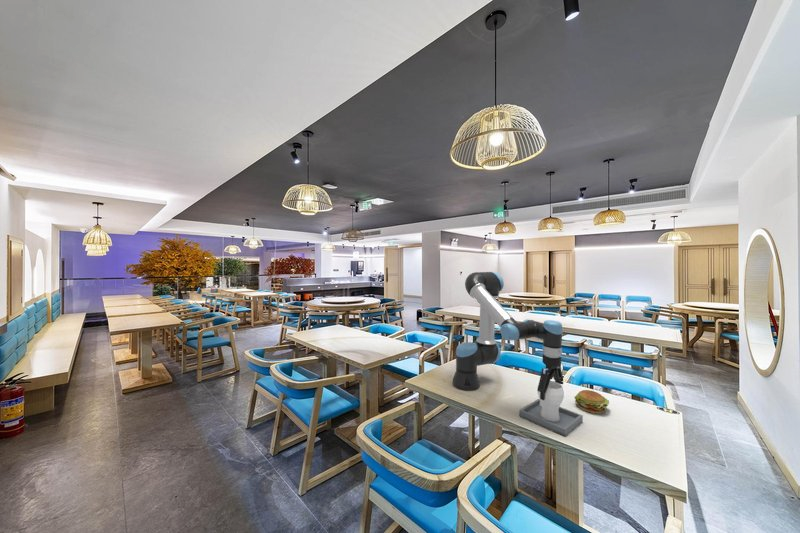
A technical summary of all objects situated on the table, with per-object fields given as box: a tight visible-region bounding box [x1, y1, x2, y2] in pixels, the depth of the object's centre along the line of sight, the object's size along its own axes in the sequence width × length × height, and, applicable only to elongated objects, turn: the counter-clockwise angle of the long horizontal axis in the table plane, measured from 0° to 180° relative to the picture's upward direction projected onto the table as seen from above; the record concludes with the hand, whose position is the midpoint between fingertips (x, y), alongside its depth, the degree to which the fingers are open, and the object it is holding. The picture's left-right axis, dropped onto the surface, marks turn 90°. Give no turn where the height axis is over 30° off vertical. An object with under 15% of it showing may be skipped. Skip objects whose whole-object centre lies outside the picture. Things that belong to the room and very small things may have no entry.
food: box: [573, 389, 610, 414], centre depth 146 cm, size 14×14×8 cm
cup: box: [537, 380, 565, 422], centre depth 136 cm, size 11×11×15 cm
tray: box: [518, 398, 584, 437], centre depth 136 cm, size 20×18×3 cm
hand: (550, 401), depth 136 cm, fingers open, 13 cm apart
